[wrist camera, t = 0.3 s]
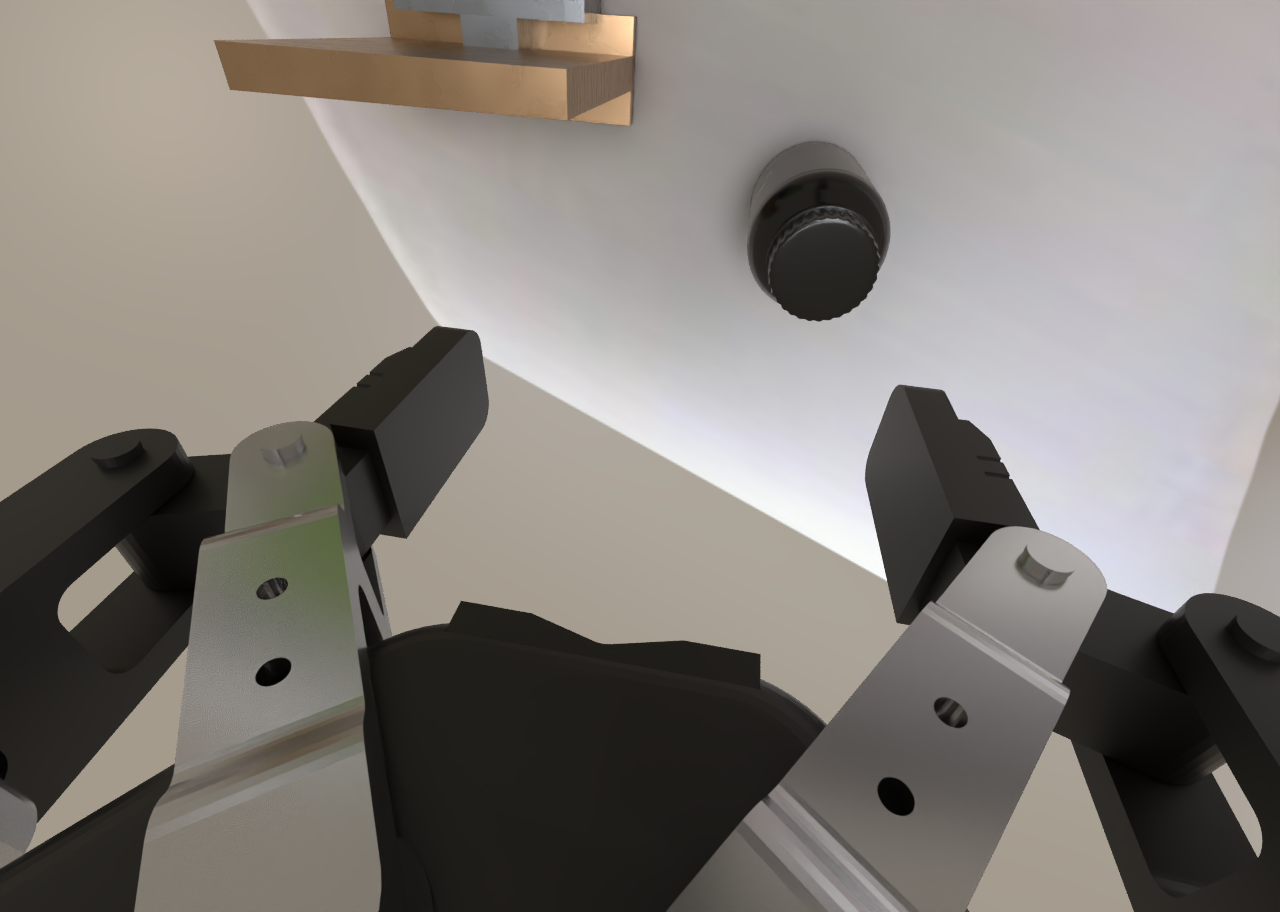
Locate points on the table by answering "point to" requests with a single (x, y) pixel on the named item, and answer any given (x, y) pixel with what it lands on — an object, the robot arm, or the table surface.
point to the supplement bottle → (816, 231)
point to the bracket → (460, 60)
